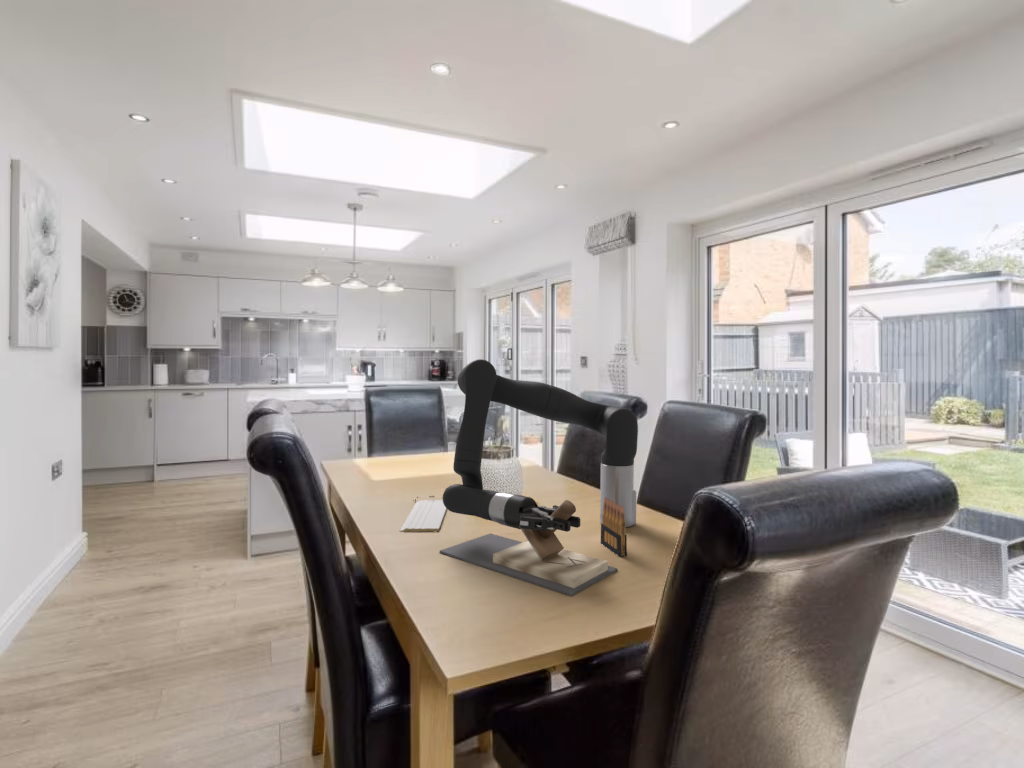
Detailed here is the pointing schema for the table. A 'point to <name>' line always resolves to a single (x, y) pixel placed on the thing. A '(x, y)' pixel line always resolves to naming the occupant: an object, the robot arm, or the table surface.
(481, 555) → the rubber mat
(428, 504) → the baseboard molding
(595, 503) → the table surface
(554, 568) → the pine board
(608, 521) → the ammunition clip
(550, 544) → the sanding block
